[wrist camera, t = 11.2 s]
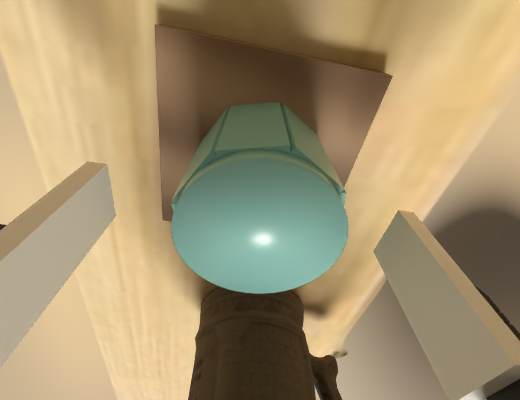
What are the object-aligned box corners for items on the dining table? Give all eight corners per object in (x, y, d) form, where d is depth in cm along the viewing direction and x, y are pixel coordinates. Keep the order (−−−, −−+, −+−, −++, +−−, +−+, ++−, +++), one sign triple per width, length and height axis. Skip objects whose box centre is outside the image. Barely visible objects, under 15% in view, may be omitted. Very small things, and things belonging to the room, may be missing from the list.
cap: (181, 167, 16) (137, 246, 10) (252, 74, 13) (246, 114, 7) (265, 223, 19) (267, 311, 13) (340, 156, 16) (386, 233, 10)
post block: (161, 24, 13) (80, 26, 7) (384, 73, 14) (471, 107, 8) (166, 211, 20) (127, 290, 14) (317, 233, 21) (339, 313, 15)
